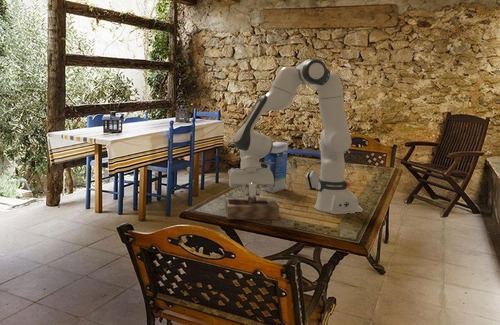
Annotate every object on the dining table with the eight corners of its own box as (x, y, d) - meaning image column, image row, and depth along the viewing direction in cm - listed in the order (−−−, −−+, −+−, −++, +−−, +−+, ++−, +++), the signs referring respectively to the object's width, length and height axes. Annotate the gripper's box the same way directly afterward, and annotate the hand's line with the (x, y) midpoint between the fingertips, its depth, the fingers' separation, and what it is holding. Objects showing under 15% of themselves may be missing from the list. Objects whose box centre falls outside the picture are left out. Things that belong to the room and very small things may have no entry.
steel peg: (257, 207, 192) (258, 181, 190) (258, 210, 187) (260, 184, 185) (244, 207, 192) (245, 181, 190) (246, 210, 186) (247, 184, 184)
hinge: (316, 190, 240) (312, 172, 239) (308, 191, 241) (304, 174, 241) (323, 184, 255) (318, 168, 254) (315, 185, 257) (311, 169, 256)
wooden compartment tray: (227, 219, 181) (227, 206, 180) (225, 209, 195) (225, 197, 194) (278, 219, 184) (279, 206, 183) (272, 209, 198) (273, 198, 197)
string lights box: (274, 186, 244) (277, 141, 239) (286, 188, 239) (289, 143, 235) (262, 190, 233) (264, 143, 228) (274, 193, 229) (276, 145, 224)
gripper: (228, 164, 191) (229, 191, 184) (273, 165, 194) (276, 191, 186) (227, 172, 196) (228, 198, 189) (271, 172, 199) (273, 198, 191)
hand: (252, 195), depth 188 cm, fingers closed on steel peg, 4 cm apart
